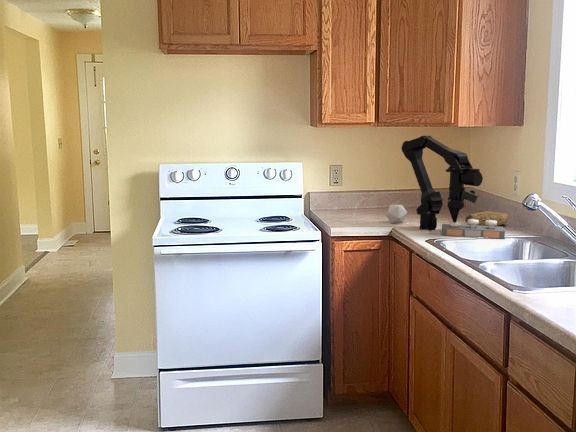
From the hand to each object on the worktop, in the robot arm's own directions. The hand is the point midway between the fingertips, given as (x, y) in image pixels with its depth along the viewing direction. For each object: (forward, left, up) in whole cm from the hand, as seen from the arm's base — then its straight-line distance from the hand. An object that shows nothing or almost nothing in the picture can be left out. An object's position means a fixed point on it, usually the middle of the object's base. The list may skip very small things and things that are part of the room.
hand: (454, 222), depth 266 cm
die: (-25, +20, -5) cm, 32 cm away
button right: (+14, 0, -3) cm, 14 cm away
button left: (0, 0, -4) cm, 4 cm away
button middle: (+7, 0, -3) cm, 8 cm away
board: (+7, 0, -5) cm, 8 cm away
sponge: (+14, +24, -5) cm, 28 cm away
